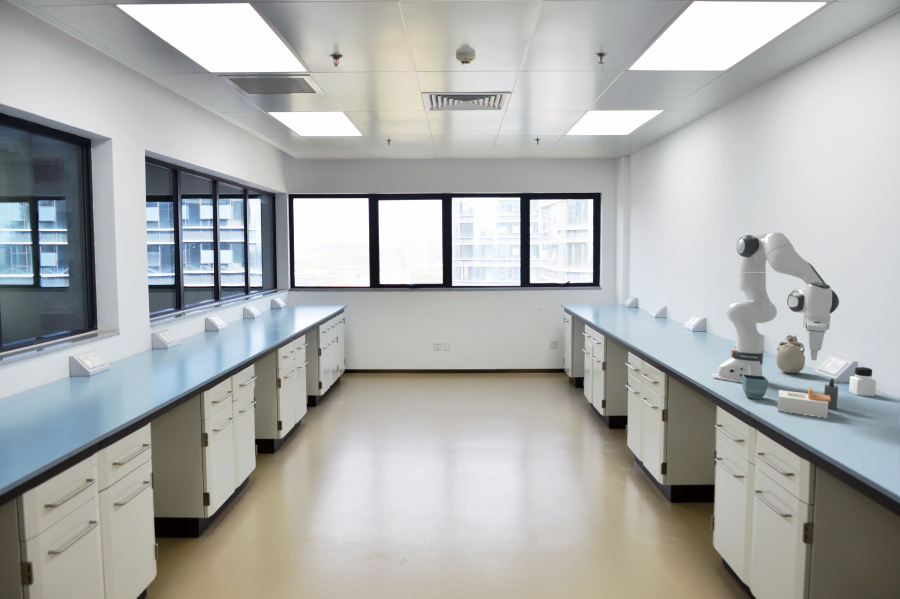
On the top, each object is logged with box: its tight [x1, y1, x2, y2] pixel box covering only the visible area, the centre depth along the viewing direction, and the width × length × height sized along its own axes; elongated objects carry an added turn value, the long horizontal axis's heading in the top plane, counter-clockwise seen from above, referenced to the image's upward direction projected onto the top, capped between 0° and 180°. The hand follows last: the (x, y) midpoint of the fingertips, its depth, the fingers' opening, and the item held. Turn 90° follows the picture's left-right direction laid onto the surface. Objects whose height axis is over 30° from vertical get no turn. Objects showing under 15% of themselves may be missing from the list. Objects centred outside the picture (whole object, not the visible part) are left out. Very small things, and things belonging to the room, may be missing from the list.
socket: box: [777, 389, 829, 419], centre depth 214 cm, size 16×12×6 cm
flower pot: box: [741, 375, 769, 400], centre depth 233 cm, size 9×9×9 cm
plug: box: [823, 378, 839, 411], centre depth 218 cm, size 4×4×12 cm
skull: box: [775, 334, 806, 374], centre depth 280 cm, size 13×15×20 cm
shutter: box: [807, 386, 831, 402], centre depth 210 cm, size 7×7×3 cm
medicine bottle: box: [848, 366, 877, 397], centre depth 241 cm, size 7×7×12 cm
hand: (813, 357), depth 216 cm, fingers open, 8 cm apart
